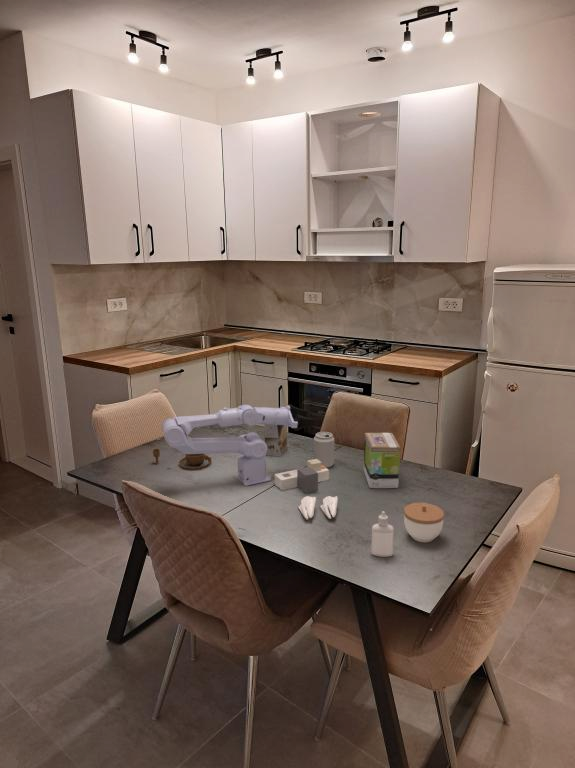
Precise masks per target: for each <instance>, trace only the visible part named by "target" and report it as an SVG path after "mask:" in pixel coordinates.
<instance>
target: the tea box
mask: <svg viewBox="0 0 575 768" xmlns="http://www.w3.org/2000/svg"><path fill="white" fill-rule="evenodd" d="M400 460H401V445H400V444H399V442H398V441H397V439H396V437H395V436H394V433H393V432H365V433H364V449H363V473H364V475H365V478H366V482H367V485H368V488H370V489H398V488H399V483H400V482H399V479H400V464H401V463H400V462H401V461H400Z"/></svg>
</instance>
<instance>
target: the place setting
mask: <svg viewBox="0 0 575 768" xmlns="http://www.w3.org/2000/svg"><path fill="white" fill-rule="evenodd" d="M152 455H153V457H154V458H155V465H159V464H160V463H159V457H160V456H161V453H160V449H159V448H154V449H152ZM211 458H212V457H211V456H209V455H207V454H185V456H184V457H182V458H181V459H179V462H178V465H179V467H180V468H182V469H183V470H187V471H199V470H203V468H204V469H207V468H208V467H210V465H211V464H212V459H211ZM204 459H205V460H204ZM207 460H208V461H207ZM204 461H207V462H208V463H206V464H203V463H204ZM183 462H184V463H185V462H186V463H187V464H189V465H190V466H185V465H183V464H184V463H183ZM182 463H183V464H182ZM201 464H203V465H201ZM170 468H171V467H168V469H169V470H170Z"/></svg>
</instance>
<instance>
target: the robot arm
mask: <svg viewBox="0 0 575 768" xmlns="http://www.w3.org/2000/svg"><path fill="white" fill-rule="evenodd" d="M308 413H309V412H308V410H306V409H302V408H298V407H296V406H294V405H292V404H291V403H288V404H287V405H286V406H279V407H278V408H277V407H262V406H261V407H260V406H259V407H258V406H254V407H252V406H251V405H250V404H245V403H244V404H241V405H239V406H237V407H233V408H228V407H222V409H218V410H217V412H216V413H214V414H200V415H198V414H197V415H188V416H187V415H183V416H181V415H180V416H176V417H169V418H166V419H165V420H163V422H162V424H161V432H162V433H163V439H164V440H165V441H166V443H167V444H168V446H169V447H171V448H174V449H175V450H177V451H179V452H181V453H183V454H204V455H207V454H208V455H211V454H213V455H214V454H240V455H243V456H241V457H238V458H237V479H238V480H240V481H239V482H241V483H242V484H243V485H244V486H246V487H247V486H252V485H256V484H261V483H266V482H269V481H271V480H272V479H271V478H270V477H269V476H268V475H267V455H266V453H267V445H266V443H265V440H263V439H262V438H261V436H260V434H259V433H257V432H254V431H252V432H248V433H247V434H241V435H239V436H236V437H190V436H189V434H190V433H191V432H192V431H193V430H194V429H197V428H203V427H209V426H213V425H218V426H219V427H220V428H224V427H232V426H238V425H240V426H241V425H243V424H244V425H246V426H248V427H253V426H255V425H265V424H270V425H285V426H287V427H290V428H291V429H293V431H295V432H298V431H300V430H302V429H305V428H308V427H313V426H315V422H316V420H315V419H316V418H315V419H314V418H311V417H308Z"/></svg>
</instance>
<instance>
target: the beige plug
mask: <svg viewBox="0 0 575 768" xmlns="http://www.w3.org/2000/svg"><path fill="white" fill-rule="evenodd" d="M306 467H310V468H312V469H313V470H315V471H316V472H317V471H321V462H320V461H319V460H317V459H314V458H313V459H309V460H306Z"/></svg>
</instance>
